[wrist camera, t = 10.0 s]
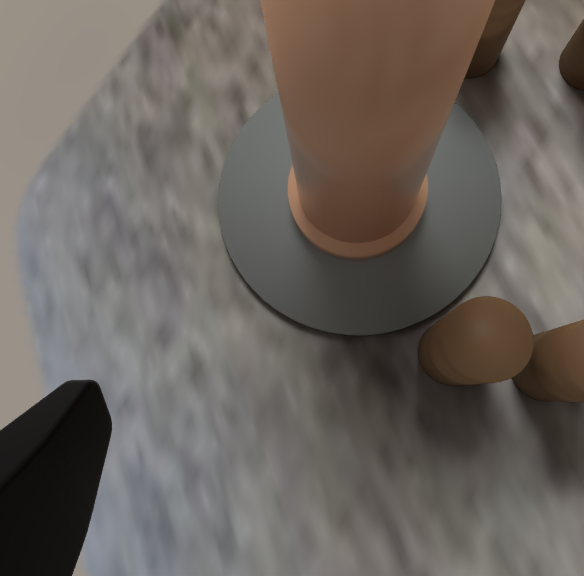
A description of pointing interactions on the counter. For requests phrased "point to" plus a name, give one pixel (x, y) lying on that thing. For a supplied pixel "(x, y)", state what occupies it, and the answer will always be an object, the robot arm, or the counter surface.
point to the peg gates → (499, 313)
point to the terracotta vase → (366, 110)
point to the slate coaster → (365, 273)
